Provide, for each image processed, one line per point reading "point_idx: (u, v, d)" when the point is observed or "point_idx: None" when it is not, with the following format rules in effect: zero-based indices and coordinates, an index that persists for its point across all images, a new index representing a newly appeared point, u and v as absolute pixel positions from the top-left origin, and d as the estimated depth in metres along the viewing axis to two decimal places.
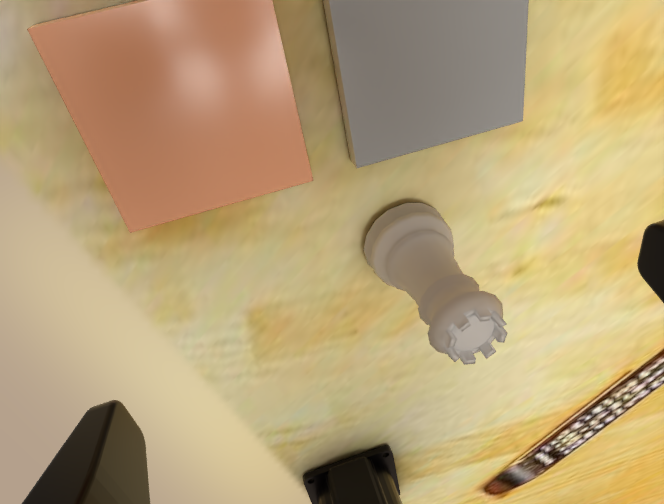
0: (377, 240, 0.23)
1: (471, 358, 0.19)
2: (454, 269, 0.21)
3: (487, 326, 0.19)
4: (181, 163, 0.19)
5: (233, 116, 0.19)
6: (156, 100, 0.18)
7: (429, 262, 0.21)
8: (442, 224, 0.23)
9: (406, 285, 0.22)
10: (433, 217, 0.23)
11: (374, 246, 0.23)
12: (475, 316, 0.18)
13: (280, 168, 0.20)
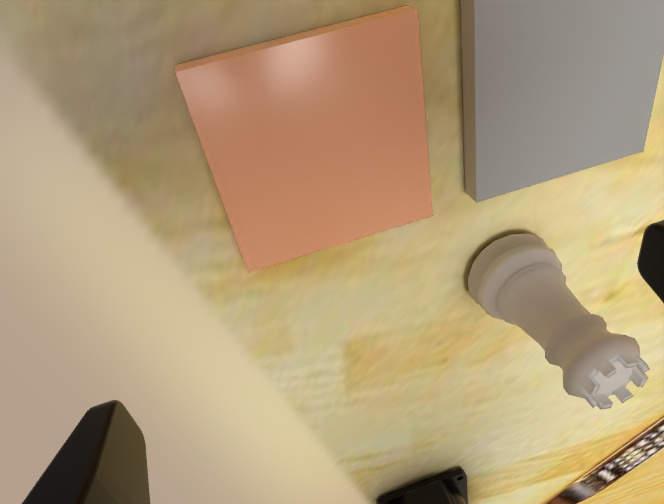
0: (488, 273, 0.22)
1: (609, 403, 0.19)
2: (580, 307, 0.20)
3: (628, 370, 0.18)
4: (307, 203, 0.19)
5: (364, 154, 0.18)
6: (291, 140, 0.17)
7: (551, 299, 0.20)
8: (554, 256, 0.22)
9: (525, 322, 0.21)
10: (546, 249, 0.22)
11: (484, 279, 0.23)
12: (618, 362, 0.18)
13: (402, 204, 0.20)
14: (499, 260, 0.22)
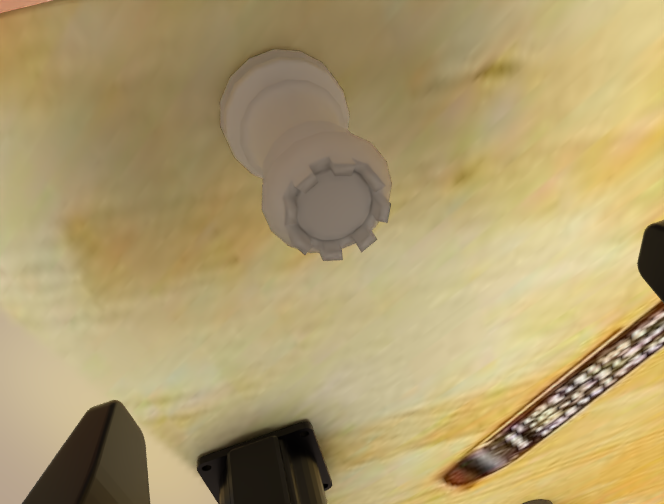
0: (228, 101, 0.15)
1: (334, 249, 0.12)
2: None
3: (357, 192, 0.11)
4: None
5: None
6: None
7: (287, 115, 0.13)
8: (325, 76, 0.15)
9: (259, 157, 0.14)
10: (311, 64, 0.15)
11: (225, 111, 0.16)
12: (331, 171, 0.11)
13: None
14: (240, 79, 0.15)
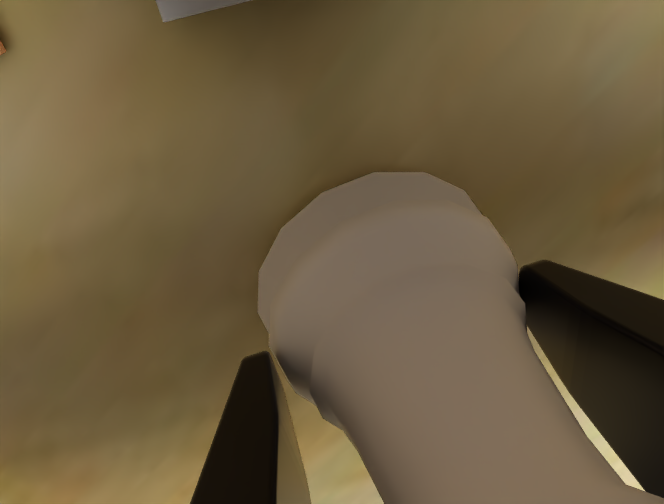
0: (281, 292, 0.07)
1: None
2: (568, 443, 0.05)
3: None
4: None
5: None
6: None
7: (454, 401, 0.05)
8: (491, 238, 0.07)
9: (370, 471, 0.06)
10: (463, 214, 0.07)
11: (273, 310, 0.07)
12: None
13: None
14: (310, 250, 0.07)
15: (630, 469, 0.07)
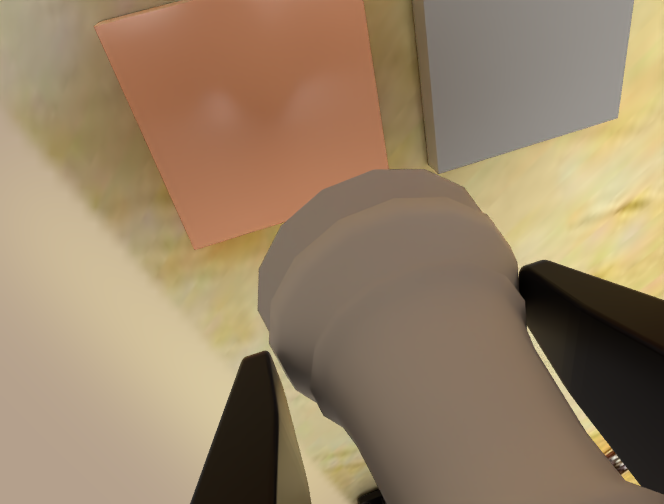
0: (282, 289, 0.07)
1: None
2: (568, 439, 0.05)
3: None
4: (252, 173, 0.17)
5: (311, 119, 0.17)
6: (229, 103, 0.16)
7: (455, 398, 0.05)
8: (491, 236, 0.07)
9: (371, 467, 0.06)
10: (463, 212, 0.07)
11: (274, 307, 0.07)
12: None
13: None
14: (311, 247, 0.07)
15: (630, 469, 0.07)
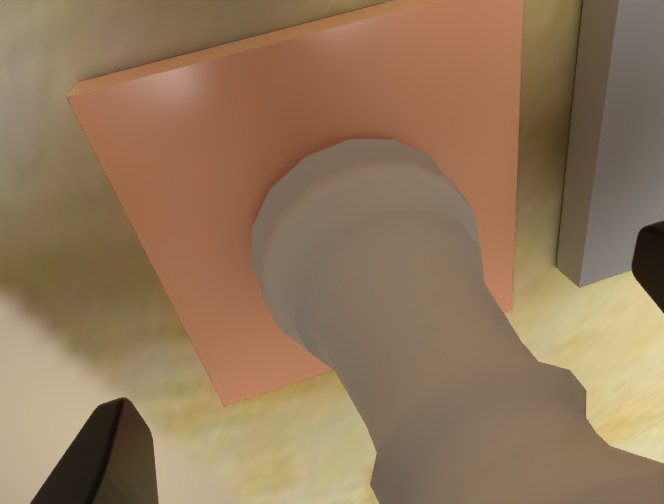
0: (270, 240, 0.08)
1: None
2: (498, 335, 0.06)
3: None
4: None
5: None
6: None
7: (409, 309, 0.06)
8: (450, 192, 0.08)
9: (343, 378, 0.07)
10: (424, 171, 0.08)
11: (264, 257, 0.08)
12: None
13: None
14: (294, 203, 0.08)
15: None
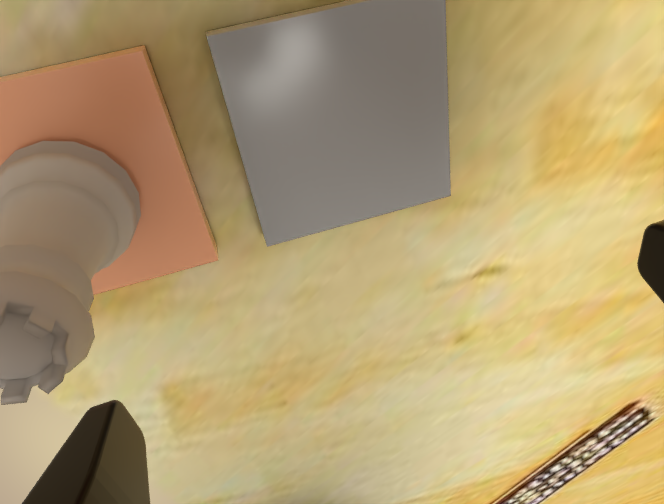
0: None
1: (12, 393, 0.11)
2: (41, 238, 0.12)
3: (27, 336, 0.10)
4: None
5: None
6: None
7: (11, 227, 0.13)
8: (90, 172, 0.15)
9: None
10: (74, 160, 0.15)
11: None
12: None
13: (179, 249, 0.19)
14: None
15: None
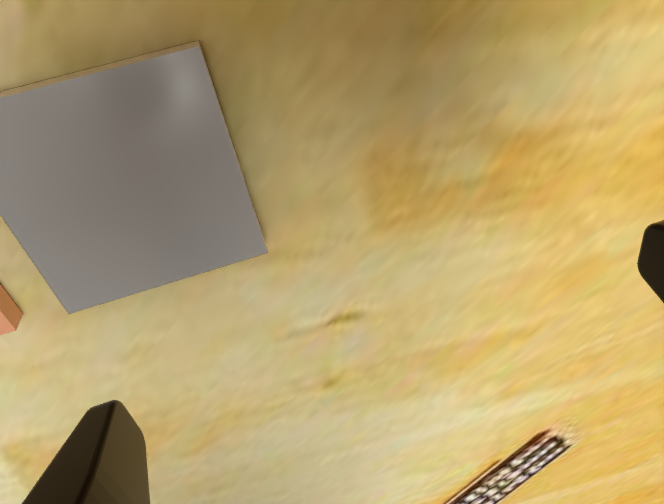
0: None
1: None
2: None
3: None
4: None
5: None
6: None
7: None
8: None
9: None
10: None
11: None
12: None
13: None
14: None
15: None
